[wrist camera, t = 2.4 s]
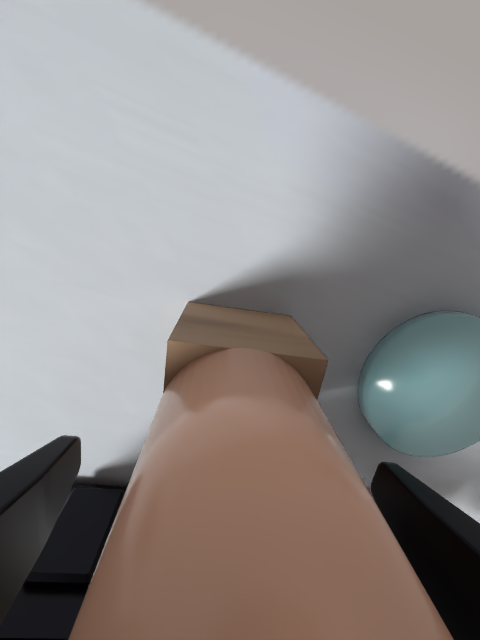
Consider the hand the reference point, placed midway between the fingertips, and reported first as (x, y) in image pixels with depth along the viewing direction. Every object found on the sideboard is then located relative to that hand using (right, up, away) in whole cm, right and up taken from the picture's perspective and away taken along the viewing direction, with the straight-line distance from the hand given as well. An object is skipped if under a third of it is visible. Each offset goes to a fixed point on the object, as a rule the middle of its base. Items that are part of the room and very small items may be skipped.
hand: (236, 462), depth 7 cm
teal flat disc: (+11, +1, +7) cm, 13 cm away
